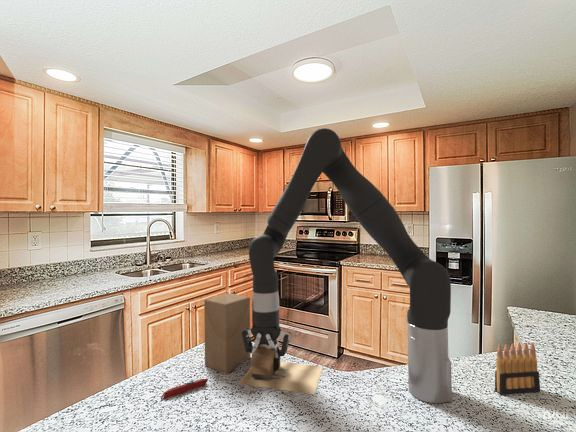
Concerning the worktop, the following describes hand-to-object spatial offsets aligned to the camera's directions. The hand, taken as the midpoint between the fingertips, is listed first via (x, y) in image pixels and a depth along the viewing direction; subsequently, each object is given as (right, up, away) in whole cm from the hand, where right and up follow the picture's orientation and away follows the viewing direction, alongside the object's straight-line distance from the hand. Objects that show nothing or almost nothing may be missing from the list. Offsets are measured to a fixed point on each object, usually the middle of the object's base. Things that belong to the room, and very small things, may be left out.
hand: (266, 368), depth 82 cm
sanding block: (0, 0, 0) cm, 0 cm away
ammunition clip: (+63, -2, -8) cm, 64 cm away
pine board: (+5, -3, -1) cm, 5 cm away
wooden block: (-12, -3, +9) cm, 15 cm away
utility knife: (-20, -3, -6) cm, 22 cm away
